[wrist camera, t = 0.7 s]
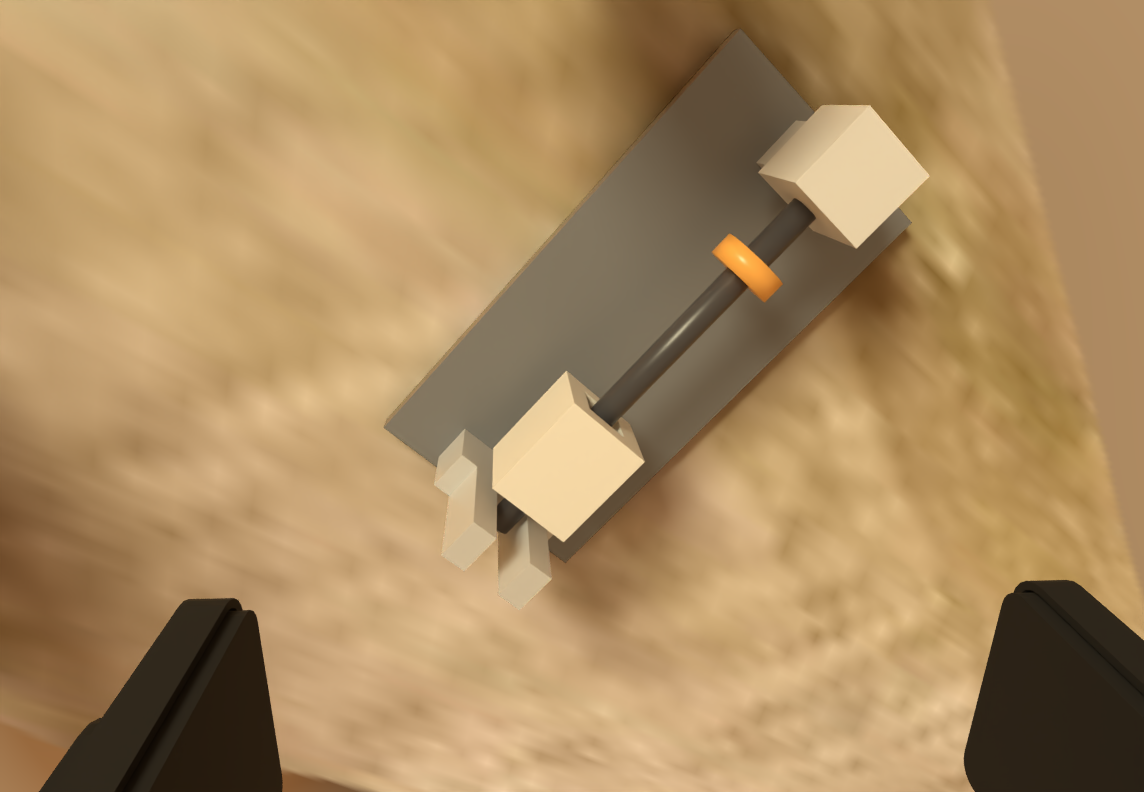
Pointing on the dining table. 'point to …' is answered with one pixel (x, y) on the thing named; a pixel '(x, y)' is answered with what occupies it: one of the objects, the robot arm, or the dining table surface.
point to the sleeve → (564, 458)
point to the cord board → (662, 292)
